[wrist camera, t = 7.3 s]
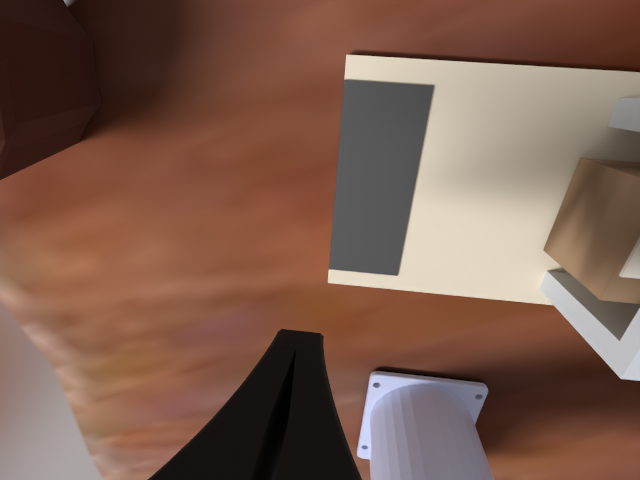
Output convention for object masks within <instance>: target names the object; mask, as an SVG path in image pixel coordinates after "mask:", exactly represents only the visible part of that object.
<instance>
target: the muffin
mask: <svg viewBox="0 0 640 480" xmlns="http://www.w3.org/2000/svg"><path fill="white" fill-rule="evenodd" d="M101 104H102V101H101V97H100V92H99V88H98V83H97V79H96V74H95V61H94V44H93V41H92V39H91V38H90V37H89V35H88V34H87V33H86V32H85V30H84V29H83V28H82V27H81V25H80V24H79V23H78V22H77V20H76V19H75V18H74V17H73V15H72V14H71V13H70V11H69V9H68V8H67V6H66V4H65V3H64V1H63V0H0V180H1V179H3V178H5V177H8V176H10V175H12V174H14V173H16V172H18V171H20V170H22V169H24V168H26V167H29V166H31V165H33V164H35V163H37V162H39V161H41V160H43V159H45V158H47V157H50V156H52V155H54V154H56V153H58V152H60V151H62V150H64V149H66V148H68V147H70V146H73V145H75V144H77V143H79V142H80V139H81V137H82V135H83V132H84V130H85V128H86V125H87V123H88V121H89V120H90V118H91V117H92V116H93V115H94V113H95V112H96V111H97V109H98V108H99V107H100V105H101Z"/></svg>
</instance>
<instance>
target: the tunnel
mask: <svg viewBox="0 0 640 480" xmlns="http://www.w3.org/2000/svg"><path fill="white" fill-rule="evenodd" d="M580 158H586V159H600V160H613V161H626V162H640V72H625V71H609V70H592V69H576V68H559V67H543V66H526V65H510V64H493V63H477V62H460V61H444V60H427V59H410V58H394V57H377V56H361V55H346V67H345V80H344V91H343V103H342V116H341V128H340V140H339V152H338V164H337V177H336V189H335V201H334V213H333V225H332V237H331V250H330V262H329V275H328V283H335V284H345V285H355V286H366V287H376V288H386V289H396V290H406V291H416V292H426V293H436V294H446V295H456V296H466V297H476V298H487V299H497V300H507V301H517V302H527V303H537V304H547V305H554V306H555V307H556V308H557V309H558V310H559V311H560V312H561V314H562V315H563V316H564V317H565V318H566V319H567V320H568V321H569V322H570V324H571V325H572V326H573V327H574V328H575V329H576V330H577V331H578V332H579V333H580V335H581V336H582V337H583V338H584V339H585V340H586V341H587V342H588V343H589V344H590V346H591V347H592V348H593V349H594V350H595V351H596V352H597V353H598V354H599V355H600V357H601V358H602V359H603V360H604V361H605V362H606V363H607V364H608V365H609V367H610V368H611V369H612V370H613V371H614V372H615V373H616V374H617V375H618V376H619V378H620V379H628V380H637V381H640V304H634V303H624V302H614V301H603V300H599V299H598V298H597V297H596V296H595V295H594V294H592V293H591V292H590V291H589V290H588V289H587V288H586V287H584V286H583V285H582V284H581V283H580V282H579V281H578V280H576V279H575V278H574V277H573V276H572V275H571V274H570V273H568V272H567V271H566V270H565V269H564V268H563V267H562V266H560V265H559V264H558V263H557V262H556V261H555V260H554V259H552V258H551V257H550V256H549V255H548V254H547V253H546V252H544V251H543V249H544V246H545V244H546V241H547V239H548V236H549V234H550V231H551V229H552V227H553V224H554V222H555V219H556V217H557V214H558V212H559V209H560V207H561V204H562V202H563V199H564V197H565V194H566V192H567V189H568V187H569V184H570V182H571V179H572V177H573V174H574V172H575V169H576V167H577V164H578V162H579V160H580Z"/></svg>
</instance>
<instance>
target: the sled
mask: <svg viewBox="0 0 640 480" xmlns="http://www.w3.org/2000/svg"><path fill="white" fill-rule="evenodd" d="M543 251H544V252H546V253H547V254H548V255H549V256H550V257H551V258H552V259H554V260H555V261H556V262H557V263H558V264H559V265H560V266H562V267H563V268H564V269H565V270H566V271H567V272H568V273H570V274H571V275H572V276H573V277H574V278H575V279H576V280H578V281H579V282H580V283H581V284H582V285H583V286H584V287H586V288H587V289H588V290H589V291H590V292H591V293H592V294H594V295H595V296H596V297H597V298H598V299H599V300H603V301H614V302H624V303H634V304H640V162H626V161H613V160H600V159H586V158H580V160H579V162H578V164H577V167H576V169H575V172H574V174H573V177H572V179H571V182H570V184H569V187H568V189H567V192H566V194H565V197H564V199H563V202H562V204H561V207H560V209H559V212H558V214H557V217H556V219H555V222H554V224H553V227H552V229H551V231H550V234H549V236H548V239H547V241H546V244H545V246H544V249H543Z"/></svg>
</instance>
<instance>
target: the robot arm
mask: <svg viewBox="0 0 640 480" xmlns="http://www.w3.org/2000/svg"><path fill="white" fill-rule="evenodd" d="M487 394H488V388H487V386H486V385H485V384H484V383H480V382H471V381H463V380H454V379H445V378H436V377H427V376H418V375H410V374H401V373H392V372H383V371H374V372H372V373H371V375H370V380H369V385H368V391H367V397H366V402H365V408H364V414H363V420H362V425H361V431H360V437H359V442H358V448H357V455H358V457H360V458H363V459H370V476H371V480H494V478H493V475H492V472H491V469H490V466H489V464H488V461H487V458H486V455H485V452H484V450H483V447H482V444H481V441H480V438H479V436H478V433H477V430H476V427H475V423H476V421H477V418H478V416H479V413H480V411H481V408H482V406H483V404H484V401H485V399H486V396H487ZM148 480H362V479H361V476H360V474H359V471H358V469H357V467H356V464H355V462H354V459H353V457H352V454H351V451H350V449H349V446H348V443H347V441H346V438H345V435H344V432H343V429H342V426H341V423H340V420H339V417H338V414H337V410H336V407H335V404H334V400H333V396H332V392H331V388H330V384H329V380H328V376H327V371H326V365H325V359H324V350H323V336H322V335H321V333H313V332H304V331H295V330H285V329H281V330H280V331H278V333H277V335H276V337H275V338H274V340H273V342H272V343H271V345H270V346H269V348H268V349H267V351H266V352H265V354H264V355H263V357H262V358H261V360H260V361H259V362H258V364H257V365H256V366H255V368H254V369H253V370H252V372H251V373H250V374H249V376H248V377H247V378H246V380H245V381H244V382H243V383H242V385H241V386H240V387H239V388H238V389H237V391H236V392H235V393H234V394H233V395H232V397H231V398H230V399H229V400H228V401H227V402H226V404H225V405H224V406H223V407H222V408H221V409H220V410H219V412H218V413H217V414H216V415H215V416H214V417H213V418H212V419H211V420H210V421H209V422H208V423H207V424H206V425H205V426H204V428H203V429H202V430H201V431H200V432H199V433H198V434H197V435H196V436H195V437H194V438H193V439H192V440H191V441H190V442H189V443H187V444H186V445H185V446H184V447H183V448H182V449H181V450H180V451H179V452H178V453H177V454H176V455H175V456H174V457H173V458H172V459H171V460H170V461H168V462H167V463H166V464H165V465H164V466H163V467H162V468H161V469H160V470H158V471H157V472H156V473H155V474H154V475H153V476H152V477H150V478H149V479H148Z"/></svg>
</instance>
